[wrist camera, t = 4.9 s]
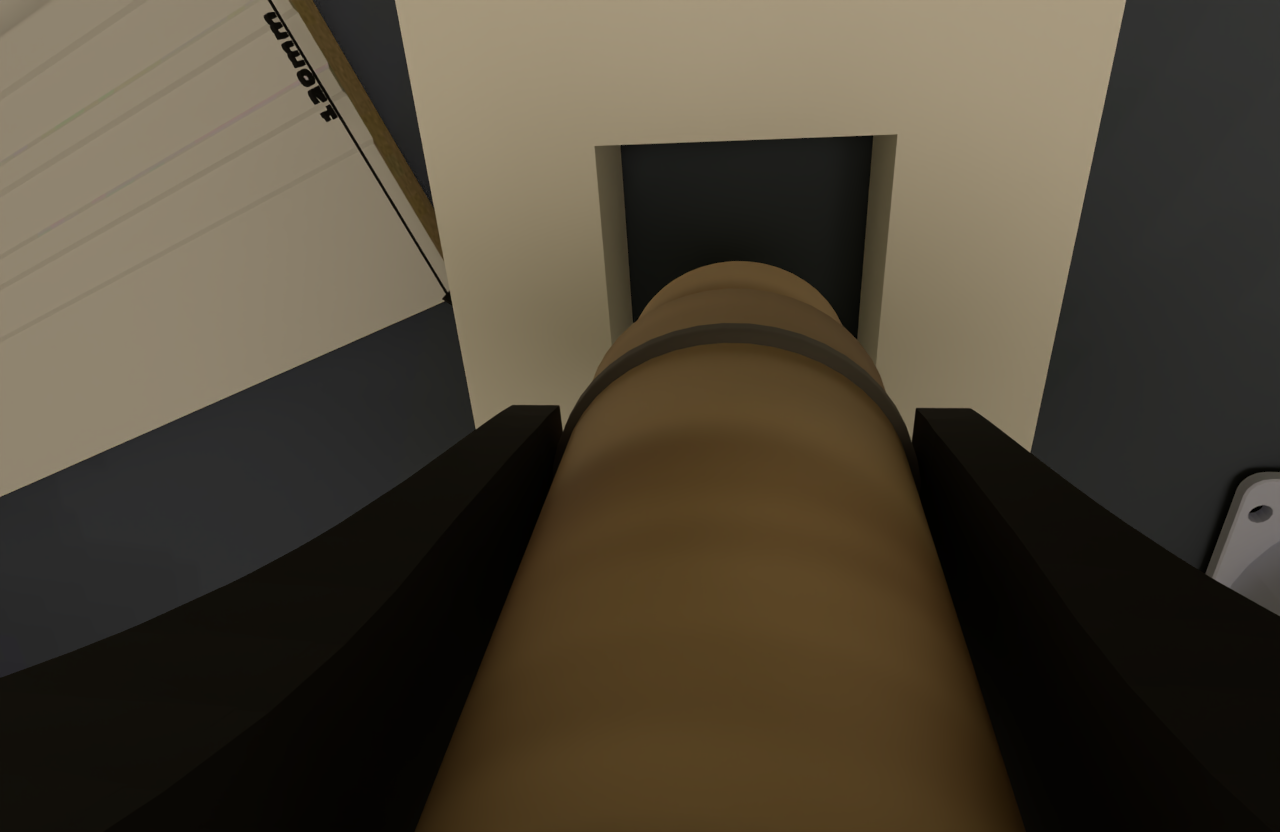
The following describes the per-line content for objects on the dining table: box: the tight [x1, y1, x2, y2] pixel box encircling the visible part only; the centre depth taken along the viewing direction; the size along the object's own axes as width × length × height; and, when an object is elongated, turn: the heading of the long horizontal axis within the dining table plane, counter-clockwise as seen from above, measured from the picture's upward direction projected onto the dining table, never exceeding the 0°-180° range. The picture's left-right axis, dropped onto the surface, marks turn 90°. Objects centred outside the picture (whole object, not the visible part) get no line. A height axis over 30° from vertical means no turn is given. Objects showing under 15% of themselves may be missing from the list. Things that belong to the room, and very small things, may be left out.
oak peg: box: [415, 261, 1026, 832], centre depth 8 cm, size 4×4×9 cm
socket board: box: [395, 0, 1126, 452], centre depth 17 cm, size 12×12×3 cm
